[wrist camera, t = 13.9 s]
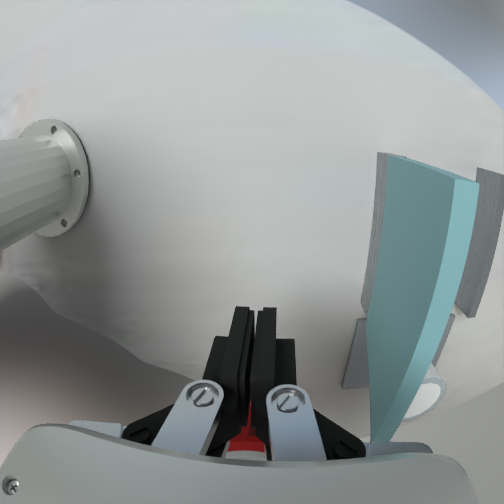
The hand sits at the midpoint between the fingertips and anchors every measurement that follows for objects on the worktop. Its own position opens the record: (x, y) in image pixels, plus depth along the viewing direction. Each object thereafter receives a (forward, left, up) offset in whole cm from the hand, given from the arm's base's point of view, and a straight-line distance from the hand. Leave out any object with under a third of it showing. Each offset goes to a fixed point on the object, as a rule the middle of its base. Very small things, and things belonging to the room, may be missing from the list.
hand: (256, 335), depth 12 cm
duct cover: (+8, 0, -4) cm, 9 cm away
